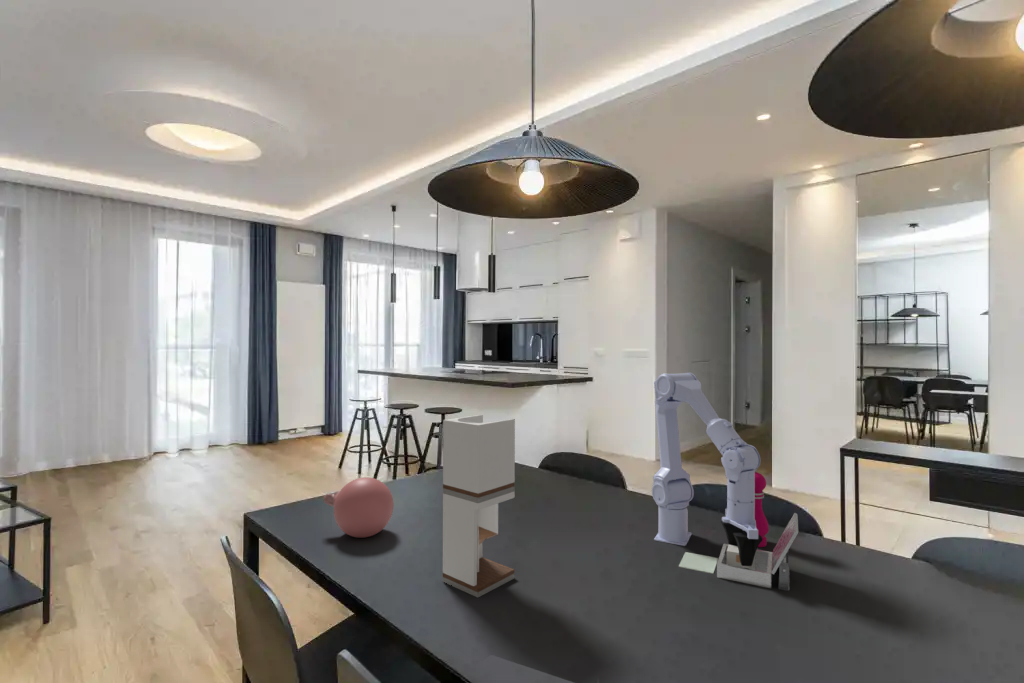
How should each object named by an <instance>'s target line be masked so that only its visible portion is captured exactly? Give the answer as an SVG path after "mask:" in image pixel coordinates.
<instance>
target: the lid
mask: <svg viewBox="0 0 1024 683" xmlns="http://www.w3.org/2000/svg"><path fill="white" fill-rule="evenodd" d="M798 533H799V519H798V513H796V512H794V513H793V515H792V517H791V519H790V520H789V521H788V523H787V525H786V526H785V528H784V530H783V532H782V534H781V535H780V538H779V539H778V541H777V543H776V545H775V546H774V547H773V550H772V552H773V553H772V566H771V573H772V575H775V573H776V572H777V570H778V568H779V566H780V563H781V562H782V560H783V558H784V556H785V555H786V553H787V551H788V552H789V549H790V547H791V546H792V545H793V542H794V541H795V539H796V537H797V536H798Z"/></svg>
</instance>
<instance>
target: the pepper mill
mask: <svg viewBox="0 0 1024 683" xmlns="http://www.w3.org/2000/svg"><path fill="white" fill-rule="evenodd" d="M766 487H767V481H766V478H765V477H764V475H763V474H762V473H761V472H758V468H757V469H756V470H755V520H756V528H757V530H758V535H760V536H761V537H762V542H761V543H760V544H759V546H758V548H763V547H764V548H765V547H766V546H767V544H768V543H767V541H768V538H767V537H766V535H767V534H768V533H769V532H770V531H769V530H770V528H769V527H770V526H769V522H768V520H767V517H766V516H765V513H764V510H763V499H765V495H764V494H765V492H764V490H765V488H766Z"/></svg>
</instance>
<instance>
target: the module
mask: <svg viewBox="0 0 1024 683" xmlns="http://www.w3.org/2000/svg"><path fill="white" fill-rule="evenodd" d="M727 564H728V565H733V566H738V567H744V568H749V569H754V570H755V556H754V560H753V563H752V566H742V565H741V562H740V557H739V549H738V546H735V545H728V548H727Z"/></svg>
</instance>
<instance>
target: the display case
mask: <svg viewBox="0 0 1024 683" xmlns="http://www.w3.org/2000/svg"><path fill="white" fill-rule="evenodd" d="M442 424H443V425H442V428H443V429H442V430H443V431H442V433H443V434H442V435H443V436H442V438H443V439H442V448H443V449H442V583H444V582H445V584H446V583H447V584H446V585H448V586H449V585H450V586H451V585H452V586H451V587H453V588H456V589H458V590H460V591H462V592H464V593H467V594H469V595H471V596H473V597H476V598H477V599H478V598H479V597H481V596H483V595H486V594H487V593H489V592H491V591H493V590H495V589H497V588H499V587H500V586H503V585H505V584H506V583H508V582H510V581H512V580H514V579H515V568H512V567H509V566H507V565H504V564H501V563H499V562H496V561H494V560H491V559H489V558H485V557H483V542H484V541H485V540H486V541H487V540H489V539H491V538H494V537H496V536H498V535H499V504H500V503H503V502H507V501H508V500H512V499H514V498H515V496H516V495H515V494H516V493H515V489H516V488H515V486H516V485H515V480H516V477H515V476H516V474H515V472H516V469H515V468H516V467H515V465H516V463H515V461H516V459H515V456H516V455H515V454H516V450H515V449H516V448H515V447H516V440H515V439H516V431H515V430H516V426H515V425H516V420H515V418H510V419H509V418H507V419H501V420H496V421H490V422H489V421H488V422H484V414H476V415H469V416H462V417H456V418H449V419H448V418H447V419H442Z"/></svg>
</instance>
